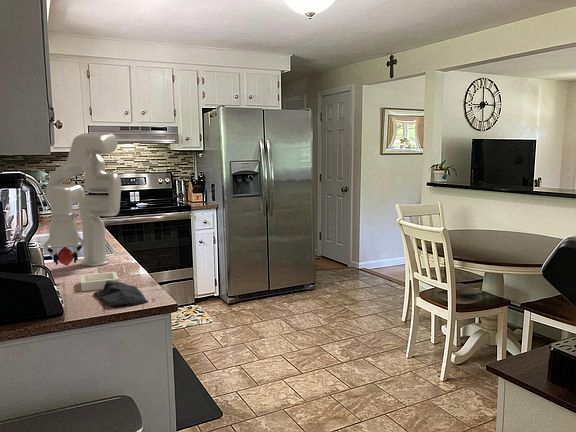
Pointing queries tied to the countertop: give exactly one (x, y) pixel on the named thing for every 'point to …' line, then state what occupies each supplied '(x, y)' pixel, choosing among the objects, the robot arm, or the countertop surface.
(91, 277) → the dish
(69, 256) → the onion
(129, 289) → the dark grey folded cloth
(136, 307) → the countertop surface
